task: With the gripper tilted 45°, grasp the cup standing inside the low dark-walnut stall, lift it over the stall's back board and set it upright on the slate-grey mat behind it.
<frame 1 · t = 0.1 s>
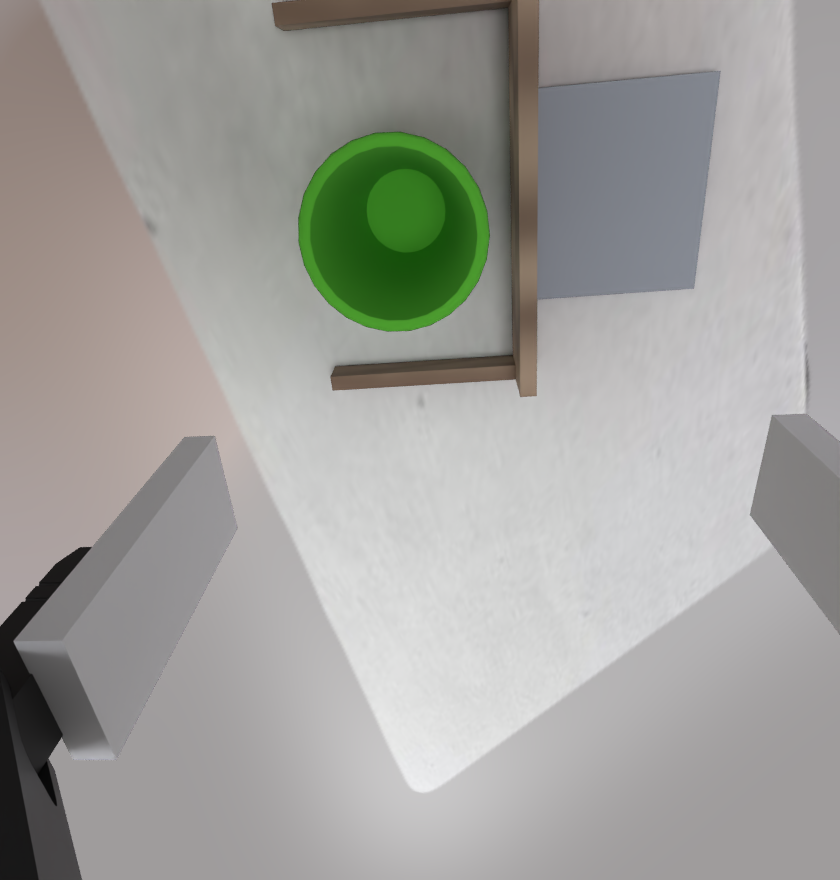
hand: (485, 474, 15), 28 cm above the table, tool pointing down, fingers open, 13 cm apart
stall: (406, 210, 39), on the table
mat: (617, 193, 38), on the table
cup: (406, 210, 39), on the table
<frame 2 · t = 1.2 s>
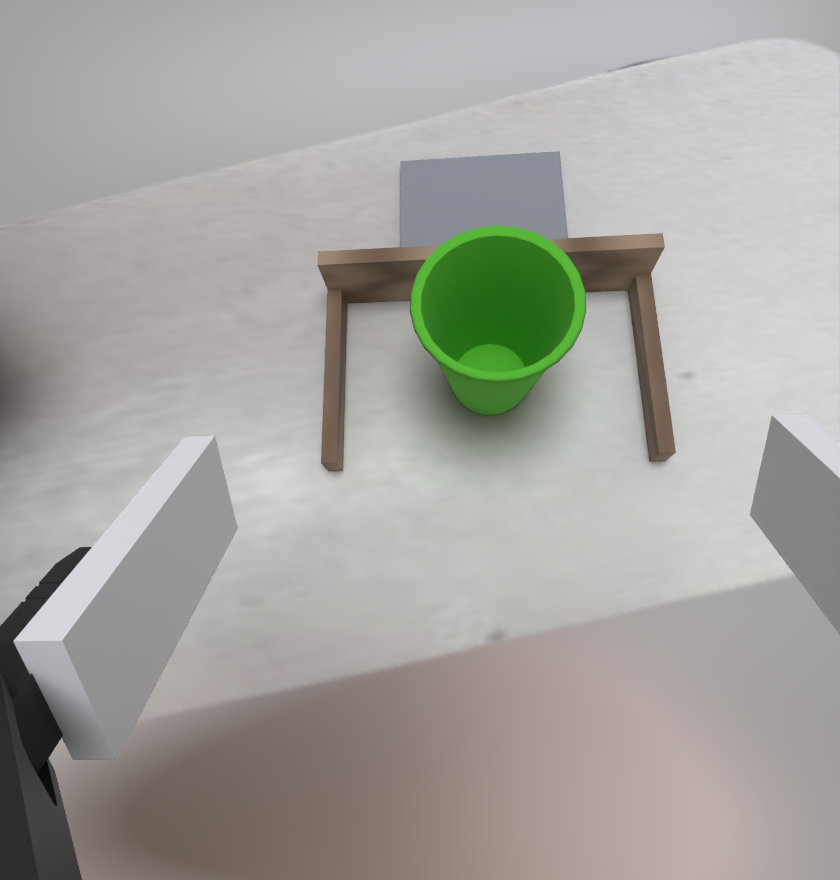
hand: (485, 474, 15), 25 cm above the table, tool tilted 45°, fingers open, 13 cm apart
stall: (489, 380, 42), on the table
mat: (481, 219, 46), on the table
cup: (489, 382, 42), on the table
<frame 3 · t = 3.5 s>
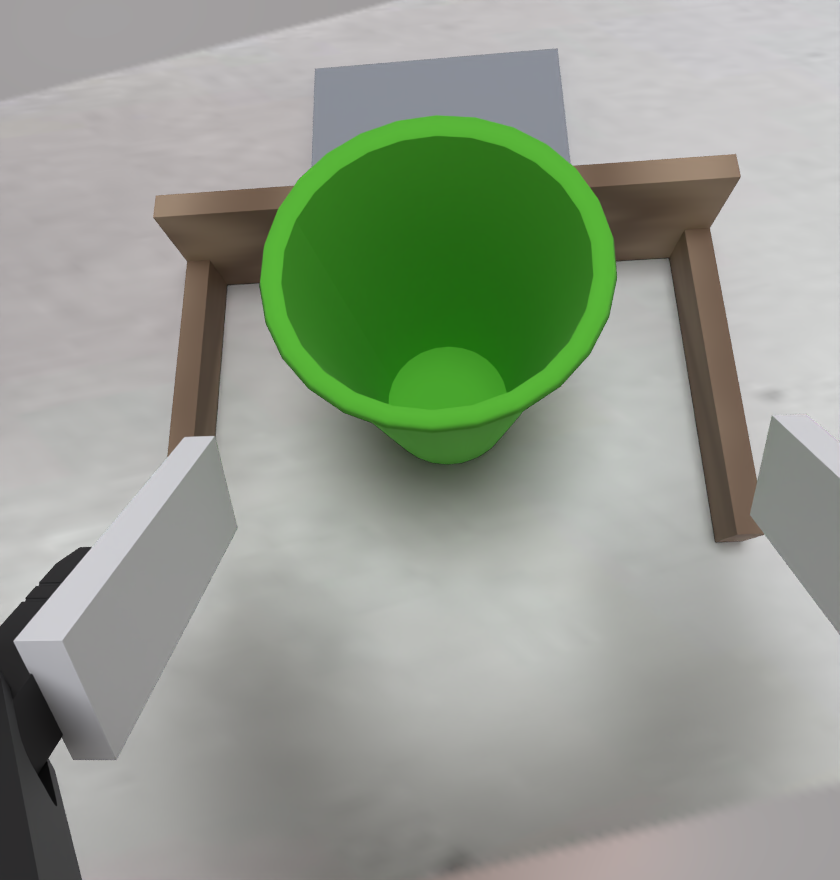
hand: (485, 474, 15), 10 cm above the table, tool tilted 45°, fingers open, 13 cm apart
stall: (448, 406, 26), on the table
mat: (438, 153, 30), on the table
cup: (448, 408, 26), on the table
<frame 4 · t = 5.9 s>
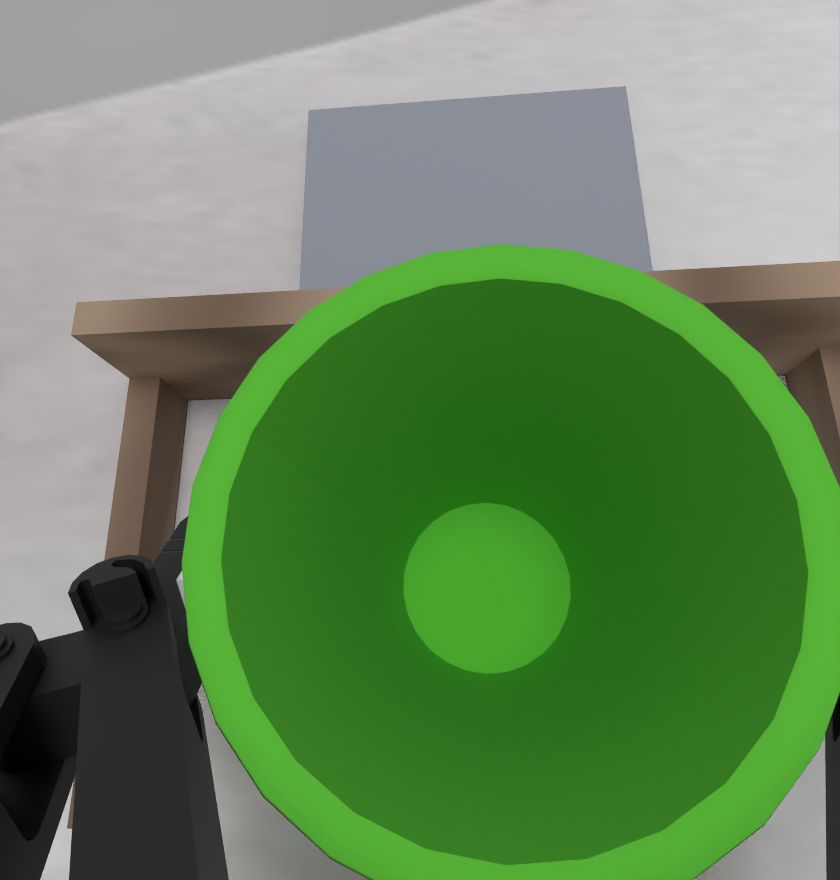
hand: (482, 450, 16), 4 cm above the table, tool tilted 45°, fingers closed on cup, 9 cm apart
stall: (485, 586, 19), on the table
mat: (469, 223, 23), on the table
cup: (485, 586, 19), on the table, touching gripper
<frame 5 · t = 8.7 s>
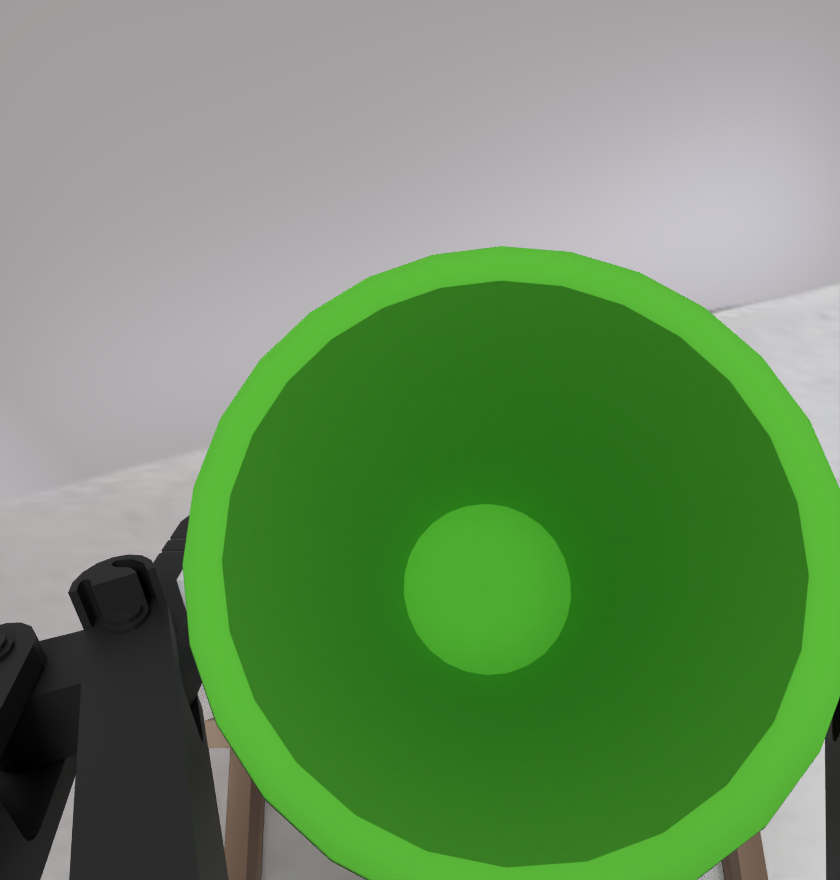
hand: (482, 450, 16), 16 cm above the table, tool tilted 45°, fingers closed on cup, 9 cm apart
cup: (485, 588, 19), point 12 cm above the table, touching gripper
when the fingers open (6 cm above the table, at t = 11.6 s): cup drops 1 cm, resting on mat.
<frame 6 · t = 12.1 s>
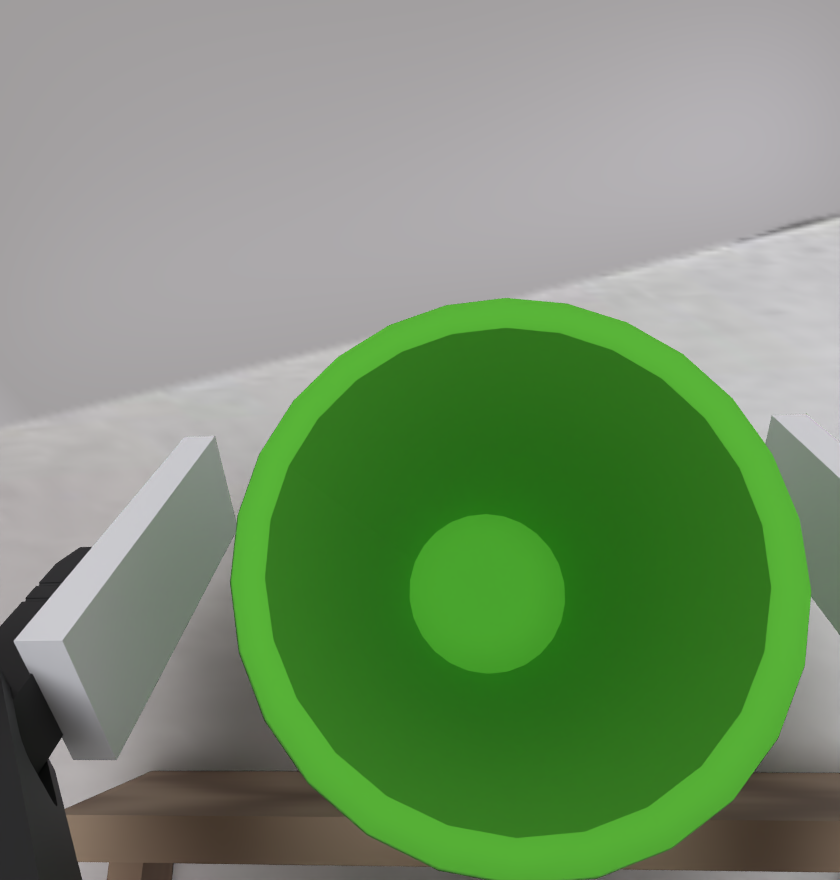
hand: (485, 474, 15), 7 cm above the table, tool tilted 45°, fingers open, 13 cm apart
cup: (485, 592, 20), point 1 cm above the table, touching mat
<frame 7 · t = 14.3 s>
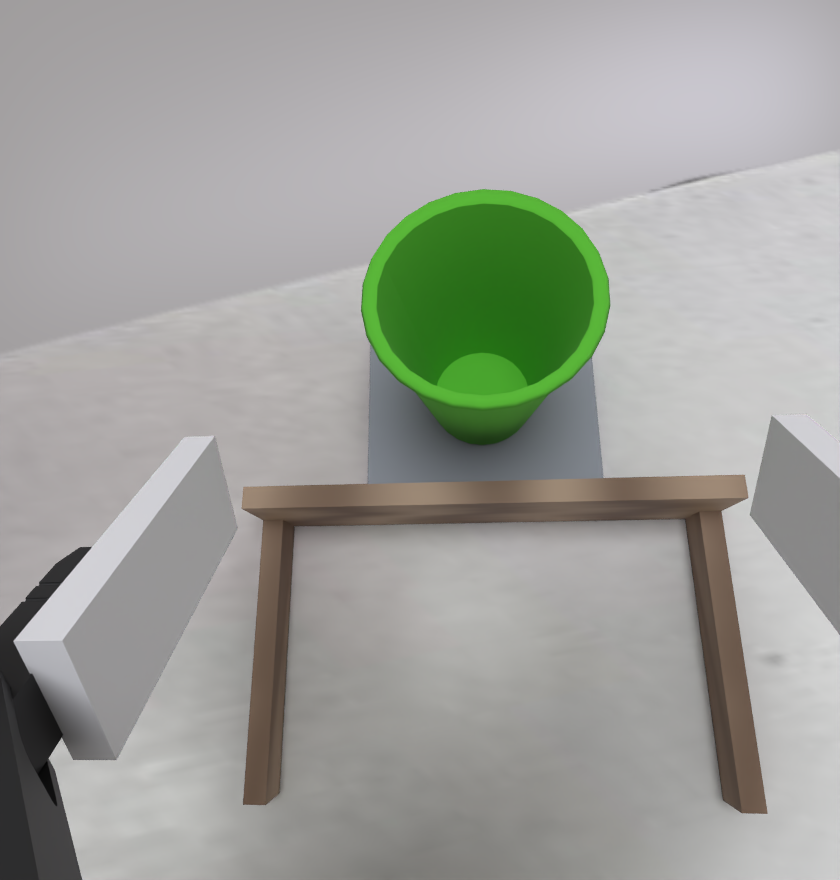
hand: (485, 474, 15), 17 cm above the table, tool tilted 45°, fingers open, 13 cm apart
stall: (489, 656, 30), on the table
mat: (480, 404, 33), on the table
cup: (481, 401, 33), point 1 cm above the table, touching mat
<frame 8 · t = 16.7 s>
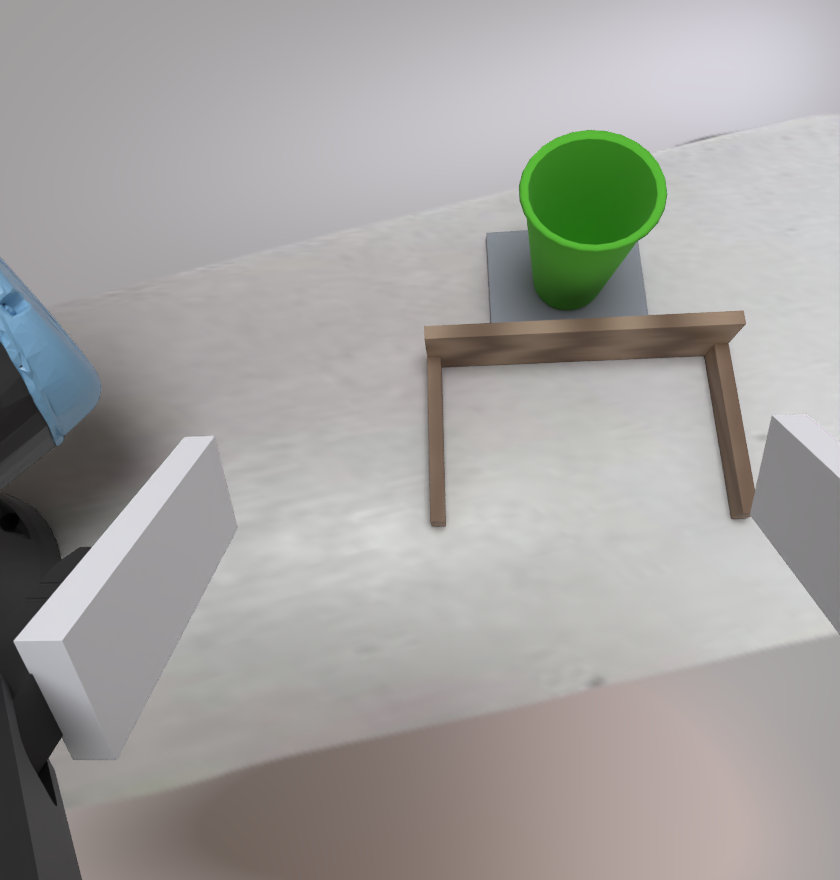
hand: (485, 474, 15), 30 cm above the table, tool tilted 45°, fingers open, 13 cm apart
stall: (578, 441, 45), on the table
mat: (564, 287, 49), on the table
cup: (565, 284, 49), point 1 cm above the table, touching mat
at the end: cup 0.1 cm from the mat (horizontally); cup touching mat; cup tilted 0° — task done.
